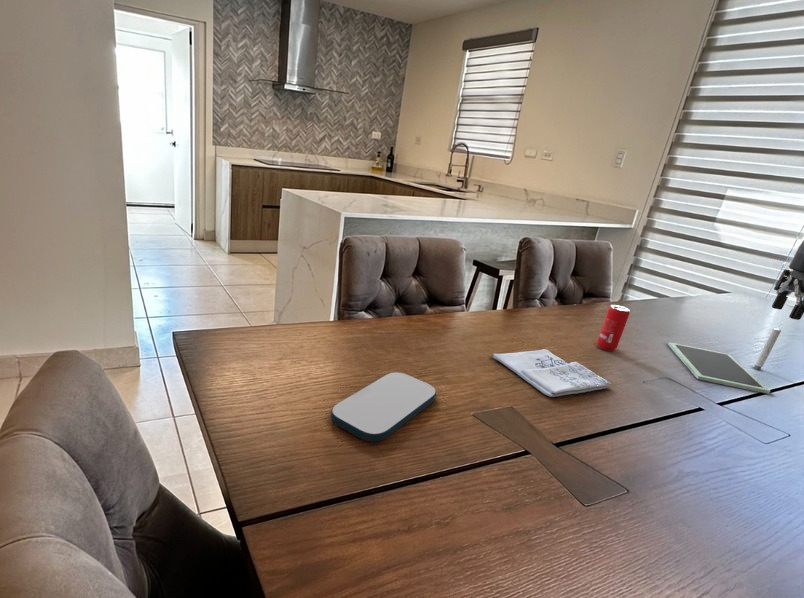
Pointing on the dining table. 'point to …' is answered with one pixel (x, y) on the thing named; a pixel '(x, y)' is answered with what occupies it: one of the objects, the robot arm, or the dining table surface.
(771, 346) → the stylus
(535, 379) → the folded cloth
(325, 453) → the dining table surface
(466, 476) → the dining table surface
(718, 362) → the tablet
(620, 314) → the beverage can
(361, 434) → the external hard drive
